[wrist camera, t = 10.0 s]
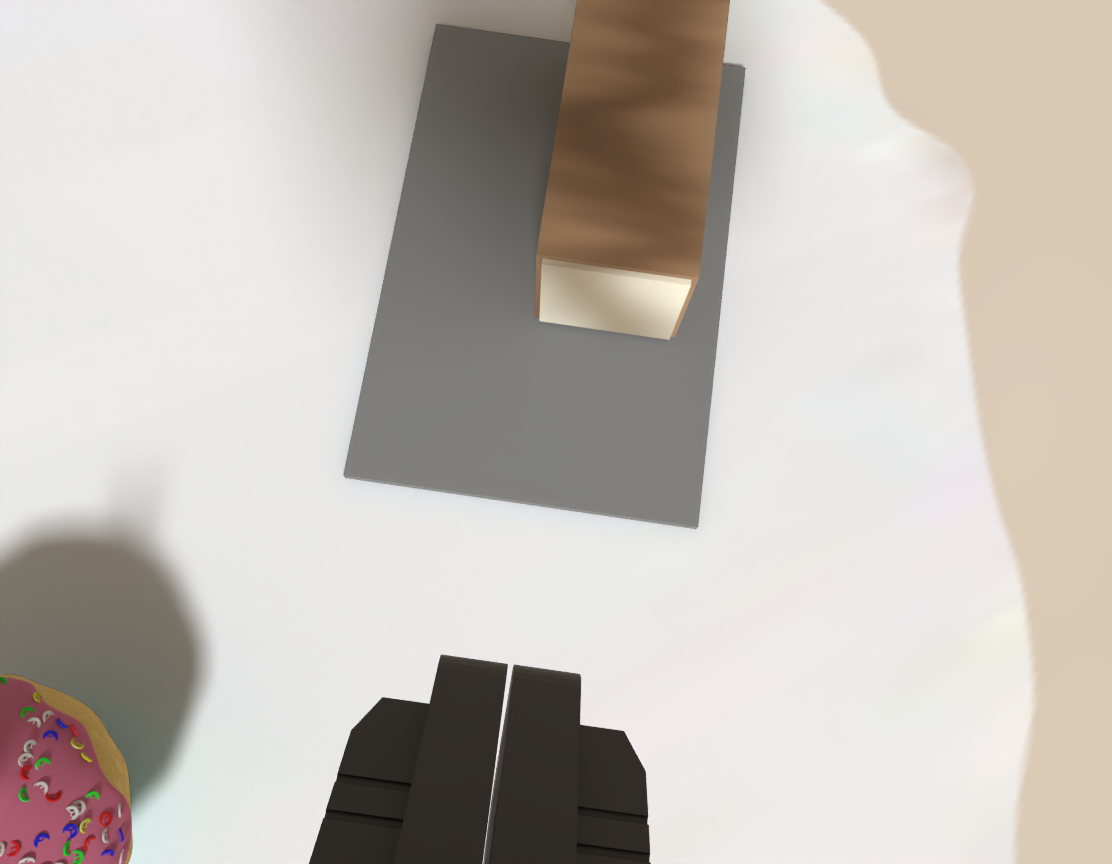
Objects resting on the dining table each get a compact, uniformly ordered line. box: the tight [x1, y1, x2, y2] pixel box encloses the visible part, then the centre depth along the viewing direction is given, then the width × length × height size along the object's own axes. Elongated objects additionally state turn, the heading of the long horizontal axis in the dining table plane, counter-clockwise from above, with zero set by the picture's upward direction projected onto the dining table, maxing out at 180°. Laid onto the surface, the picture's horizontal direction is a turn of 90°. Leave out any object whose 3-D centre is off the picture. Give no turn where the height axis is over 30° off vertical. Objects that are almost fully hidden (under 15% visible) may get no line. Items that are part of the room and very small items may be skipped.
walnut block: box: [534, 0, 730, 340], centre depth 34 cm, size 5×5×11 cm
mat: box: [343, 24, 745, 529], centre depth 36 cm, size 12×18×1 cm, turn 172°
